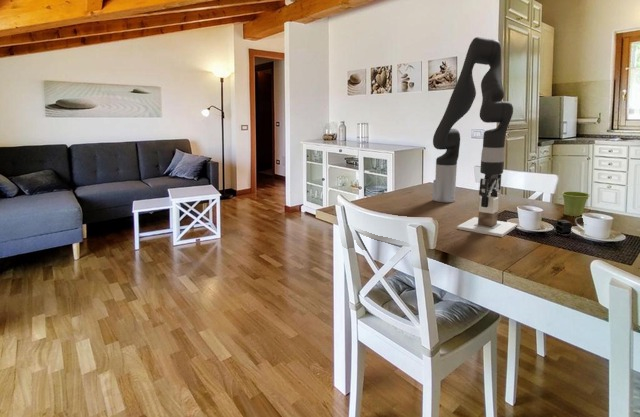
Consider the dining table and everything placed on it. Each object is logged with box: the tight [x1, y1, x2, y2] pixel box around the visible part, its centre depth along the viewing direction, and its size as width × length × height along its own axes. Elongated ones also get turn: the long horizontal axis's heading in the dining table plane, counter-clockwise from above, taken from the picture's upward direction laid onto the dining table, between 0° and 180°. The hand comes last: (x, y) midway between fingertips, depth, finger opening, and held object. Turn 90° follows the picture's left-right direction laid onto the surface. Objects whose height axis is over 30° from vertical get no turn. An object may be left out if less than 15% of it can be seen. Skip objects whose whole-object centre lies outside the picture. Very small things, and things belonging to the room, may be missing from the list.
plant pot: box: [561, 190, 591, 218], centre depth 167 cm, size 9×9×9 cm
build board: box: [456, 216, 519, 238], centre depth 153 cm, size 16×16×1 cm
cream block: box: [478, 195, 500, 214], centre depth 151 cm, size 5×5×5 cm
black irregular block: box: [552, 219, 573, 234], centre depth 146 cm, size 12×7×5 cm, turn 4°
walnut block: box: [477, 210, 499, 227], centre depth 153 cm, size 5×5×5 cm
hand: (489, 204), depth 151 cm, fingers open, 8 cm apart
